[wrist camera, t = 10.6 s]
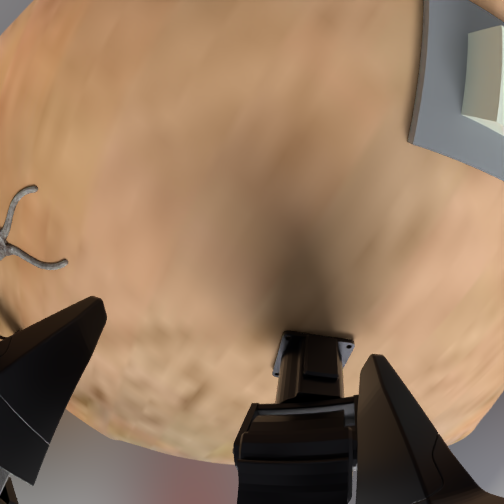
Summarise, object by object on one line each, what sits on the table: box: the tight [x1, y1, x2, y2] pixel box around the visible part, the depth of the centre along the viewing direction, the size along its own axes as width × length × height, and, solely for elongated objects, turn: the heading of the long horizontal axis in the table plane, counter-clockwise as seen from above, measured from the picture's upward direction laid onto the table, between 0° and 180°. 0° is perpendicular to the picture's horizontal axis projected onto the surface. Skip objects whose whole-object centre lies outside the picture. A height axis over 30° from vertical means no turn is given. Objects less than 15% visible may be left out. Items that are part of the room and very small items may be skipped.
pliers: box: [0, 186, 68, 270], centre depth 26 cm, size 10×1×20 cm
